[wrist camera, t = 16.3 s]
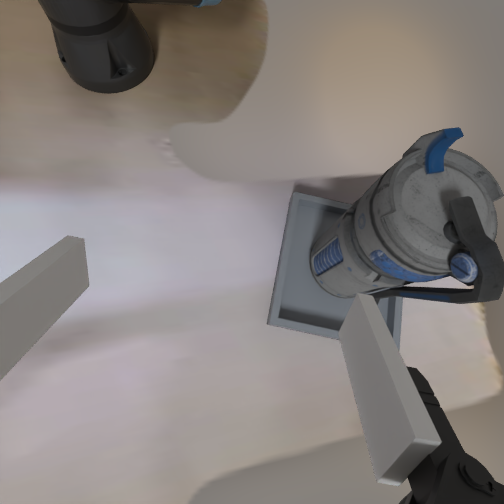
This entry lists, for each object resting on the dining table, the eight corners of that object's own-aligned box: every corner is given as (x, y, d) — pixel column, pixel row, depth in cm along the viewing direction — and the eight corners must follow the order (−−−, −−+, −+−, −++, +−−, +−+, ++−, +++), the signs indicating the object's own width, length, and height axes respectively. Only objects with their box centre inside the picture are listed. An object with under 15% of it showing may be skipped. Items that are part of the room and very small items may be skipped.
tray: (290, 199, 47) (294, 191, 44) (397, 224, 47) (408, 217, 44) (266, 324, 42) (269, 323, 39) (387, 350, 42) (399, 352, 39)
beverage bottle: (318, 321, 41) (445, 312, 17) (298, 234, 44) (382, 123, 20) (384, 309, 43) (589, 284, 18) (360, 225, 46) (508, 110, 22)
